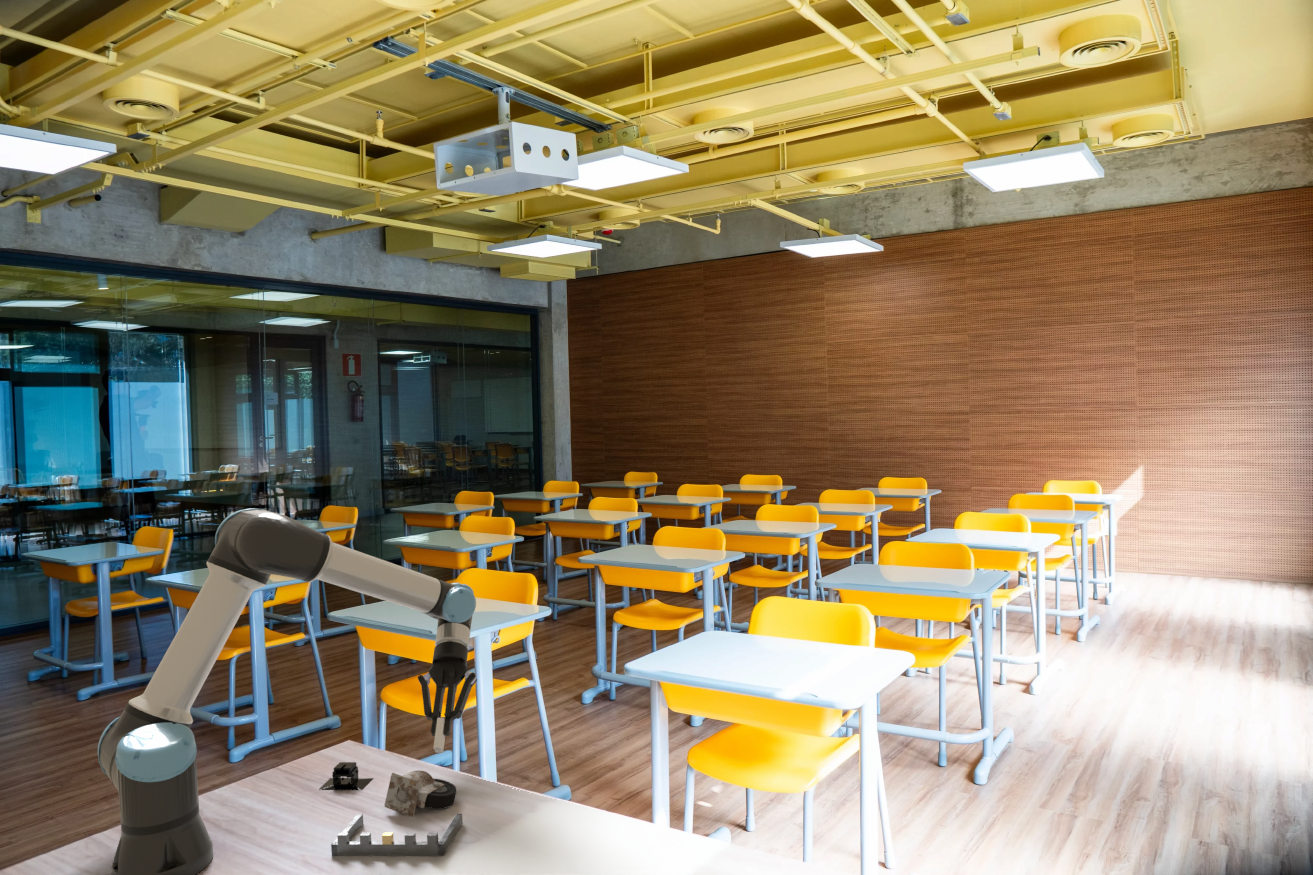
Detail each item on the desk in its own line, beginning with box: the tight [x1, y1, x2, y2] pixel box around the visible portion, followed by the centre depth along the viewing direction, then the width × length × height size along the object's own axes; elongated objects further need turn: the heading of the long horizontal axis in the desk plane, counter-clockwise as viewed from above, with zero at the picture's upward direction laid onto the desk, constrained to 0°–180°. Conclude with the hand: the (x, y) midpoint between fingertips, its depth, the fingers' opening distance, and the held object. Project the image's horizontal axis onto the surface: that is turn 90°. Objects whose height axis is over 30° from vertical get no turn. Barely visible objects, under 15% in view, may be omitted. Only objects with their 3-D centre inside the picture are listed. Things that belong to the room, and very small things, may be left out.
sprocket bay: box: [330, 813, 464, 857], centre depth 153 cm, size 20×11×4 cm, turn 86°
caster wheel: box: [384, 770, 458, 818], centre depth 166 cm, size 7×11×10 cm
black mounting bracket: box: [318, 761, 374, 791], centre depth 176 cm, size 12×7×5 cm, turn 85°
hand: (438, 750), depth 177 cm, fingers closed
